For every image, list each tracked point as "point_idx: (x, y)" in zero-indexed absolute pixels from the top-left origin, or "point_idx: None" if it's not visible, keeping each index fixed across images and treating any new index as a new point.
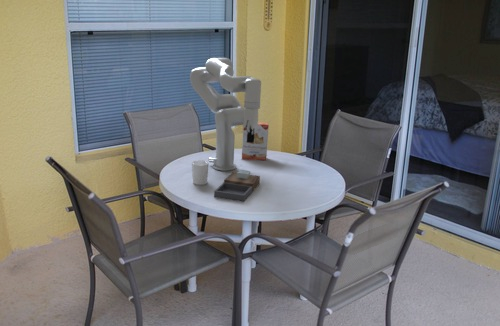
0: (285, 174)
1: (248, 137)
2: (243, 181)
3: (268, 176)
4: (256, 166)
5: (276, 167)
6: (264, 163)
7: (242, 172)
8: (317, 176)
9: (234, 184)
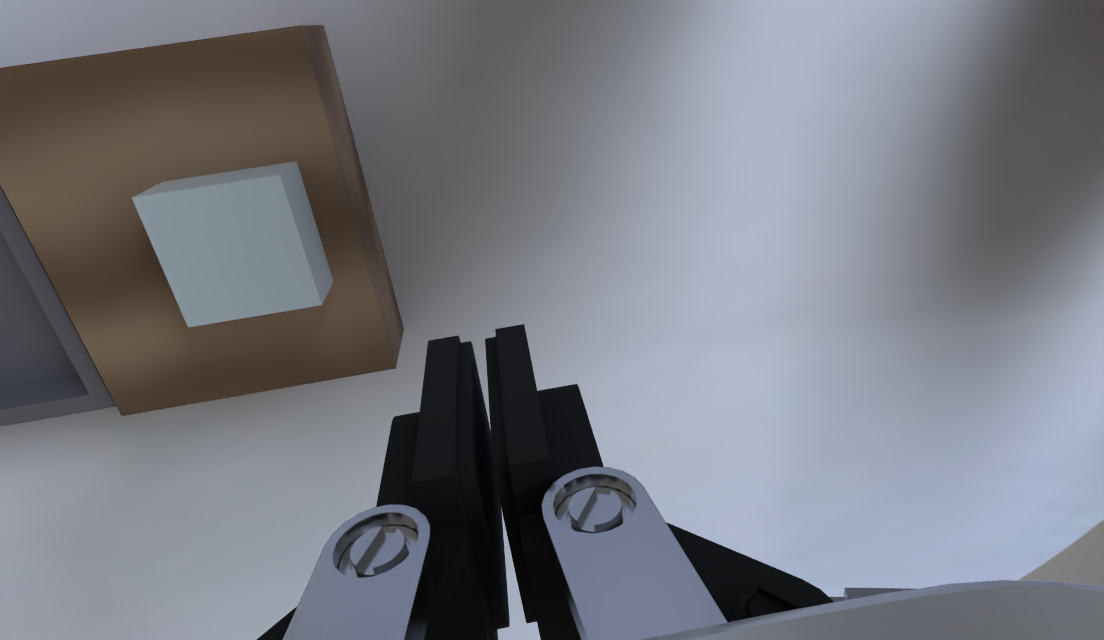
0: (769, 403)
1: (387, 477)
2: (102, 308)
3: (648, 309)
4: (915, 66)
5: (941, 263)
6: (1045, 101)
7: (197, 251)
8: (815, 584)
9: (2, 231)
